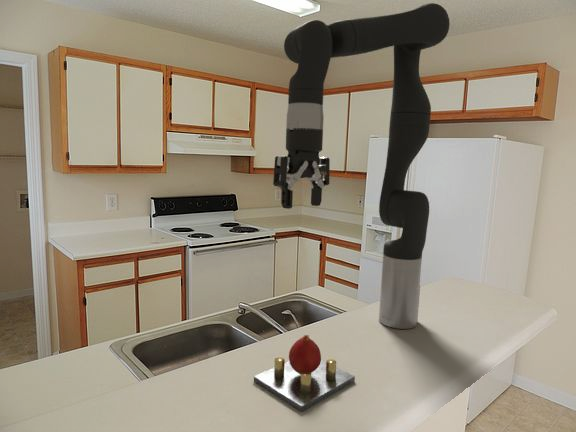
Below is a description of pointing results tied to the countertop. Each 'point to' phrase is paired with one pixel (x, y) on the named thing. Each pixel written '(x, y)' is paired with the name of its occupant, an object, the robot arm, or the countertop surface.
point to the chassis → (303, 382)
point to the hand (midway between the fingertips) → (301, 206)
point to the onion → (304, 355)
